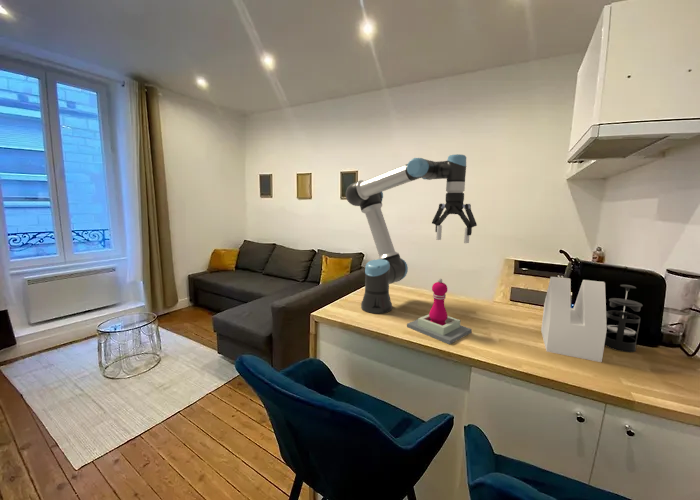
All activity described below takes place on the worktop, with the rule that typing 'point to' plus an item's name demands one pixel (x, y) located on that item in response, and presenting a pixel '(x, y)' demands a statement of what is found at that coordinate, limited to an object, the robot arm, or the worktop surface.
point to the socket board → (440, 329)
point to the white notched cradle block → (575, 319)
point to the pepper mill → (438, 303)
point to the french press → (622, 324)
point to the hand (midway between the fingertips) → (452, 241)
